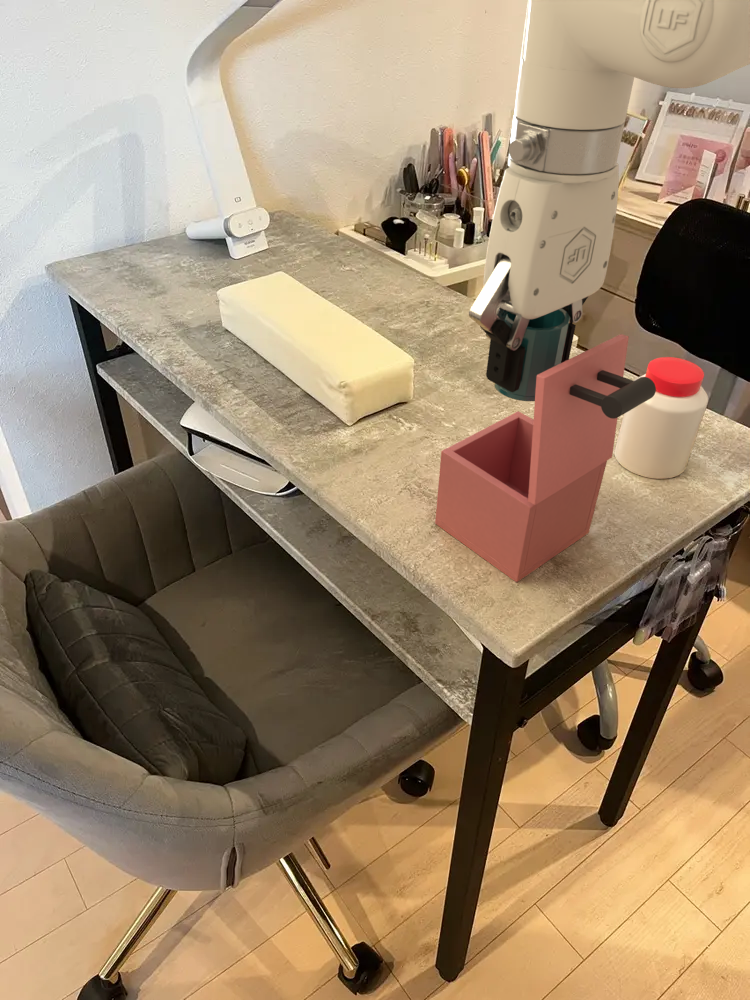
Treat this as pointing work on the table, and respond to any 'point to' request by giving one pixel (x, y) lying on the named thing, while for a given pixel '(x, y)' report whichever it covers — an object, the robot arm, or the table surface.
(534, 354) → the cup
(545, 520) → the pink box
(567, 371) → the lid
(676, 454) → the pill bottle
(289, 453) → the table surface
